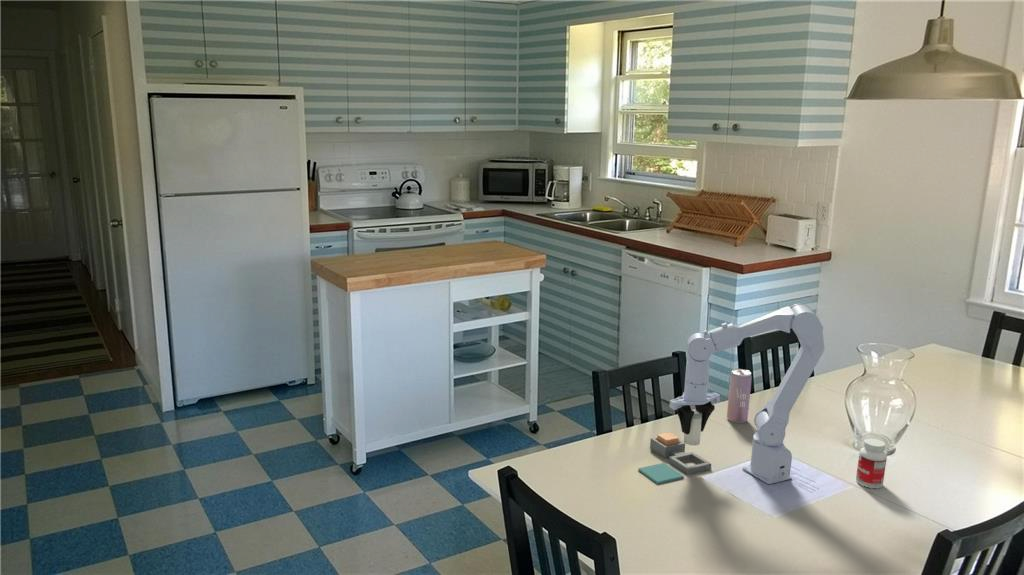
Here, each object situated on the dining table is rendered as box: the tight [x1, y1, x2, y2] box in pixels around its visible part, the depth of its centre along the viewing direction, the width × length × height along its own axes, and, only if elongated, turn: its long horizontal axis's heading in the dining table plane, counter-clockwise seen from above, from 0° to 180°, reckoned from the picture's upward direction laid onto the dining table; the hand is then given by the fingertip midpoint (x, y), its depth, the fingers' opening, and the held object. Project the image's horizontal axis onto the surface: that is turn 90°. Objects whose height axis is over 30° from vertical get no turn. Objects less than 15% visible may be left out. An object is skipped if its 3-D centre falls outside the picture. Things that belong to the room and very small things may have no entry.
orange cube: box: [656, 432, 680, 446], centre depth 207 cm, size 4×4×4 cm
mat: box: [637, 462, 685, 485], centre depth 194 cm, size 8×8×1 cm
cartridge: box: [683, 409, 702, 446], centre depth 197 cm, size 4×4×8 cm
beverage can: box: [726, 368, 752, 424], centre depth 229 cm, size 6×6×15 cm
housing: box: [649, 436, 712, 475], centre depth 203 cm, size 16×8×3 cm, turn 26°
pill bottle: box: [855, 438, 888, 489], centre depth 191 cm, size 6×6×11 cm
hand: (692, 431), depth 197 cm, fingers closed on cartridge, 4 cm apart
